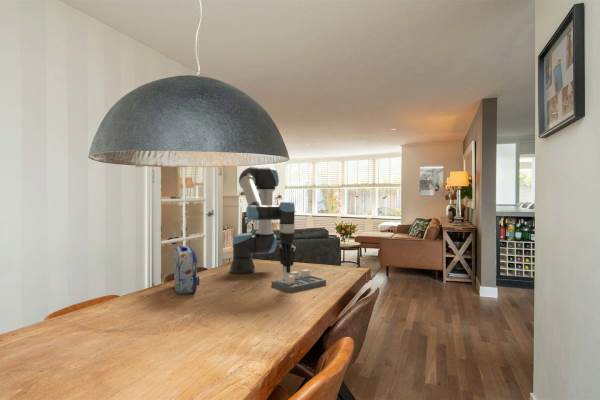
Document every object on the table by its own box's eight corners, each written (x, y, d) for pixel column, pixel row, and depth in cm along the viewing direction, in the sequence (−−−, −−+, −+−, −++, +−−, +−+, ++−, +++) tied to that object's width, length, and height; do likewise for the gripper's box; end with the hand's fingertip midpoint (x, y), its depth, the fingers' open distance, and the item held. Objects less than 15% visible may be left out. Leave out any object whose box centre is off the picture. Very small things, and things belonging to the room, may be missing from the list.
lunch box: (200, 295, 162) (201, 248, 162) (177, 298, 157) (177, 249, 157) (192, 282, 187) (192, 241, 187) (171, 284, 182) (171, 242, 182)
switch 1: (284, 283, 176) (284, 276, 176) (290, 282, 178) (290, 275, 178) (288, 284, 173) (288, 277, 173) (294, 283, 176) (294, 276, 176)
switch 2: (300, 276, 191) (300, 270, 190) (306, 275, 193) (306, 269, 193) (304, 277, 188) (304, 271, 188) (309, 276, 191) (310, 270, 191)
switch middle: (289, 278, 185) (289, 272, 185) (295, 277, 188) (295, 271, 188) (293, 279, 183) (293, 273, 183) (298, 278, 186) (298, 272, 186)
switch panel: (271, 286, 181) (271, 280, 181) (305, 279, 196) (305, 273, 196) (291, 292, 169) (291, 286, 169) (326, 284, 184) (326, 278, 184)
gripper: (273, 231, 180) (273, 277, 180) (289, 233, 170) (289, 282, 170) (284, 231, 185) (284, 275, 185) (301, 232, 175) (300, 280, 175)
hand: (286, 278), depth 177 cm, fingers closed
